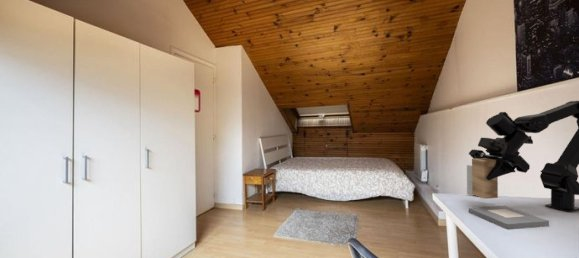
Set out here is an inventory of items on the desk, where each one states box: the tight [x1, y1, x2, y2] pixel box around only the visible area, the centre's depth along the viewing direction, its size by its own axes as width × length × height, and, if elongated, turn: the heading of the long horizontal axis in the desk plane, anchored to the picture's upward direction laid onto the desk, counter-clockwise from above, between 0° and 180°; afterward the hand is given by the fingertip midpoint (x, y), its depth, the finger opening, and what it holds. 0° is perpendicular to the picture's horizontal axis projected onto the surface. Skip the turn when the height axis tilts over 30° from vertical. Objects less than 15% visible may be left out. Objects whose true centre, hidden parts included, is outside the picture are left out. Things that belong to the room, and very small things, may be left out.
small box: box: [466, 163, 473, 196], centre depth 106 cm, size 8×6×13 cm
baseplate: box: [468, 205, 550, 230], centre depth 81 cm, size 14×14×2 cm
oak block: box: [471, 158, 499, 200], centre depth 87 cm, size 5×5×13 cm
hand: (480, 177), depth 87 cm, fingers closed on oak block, 5 cm apart
